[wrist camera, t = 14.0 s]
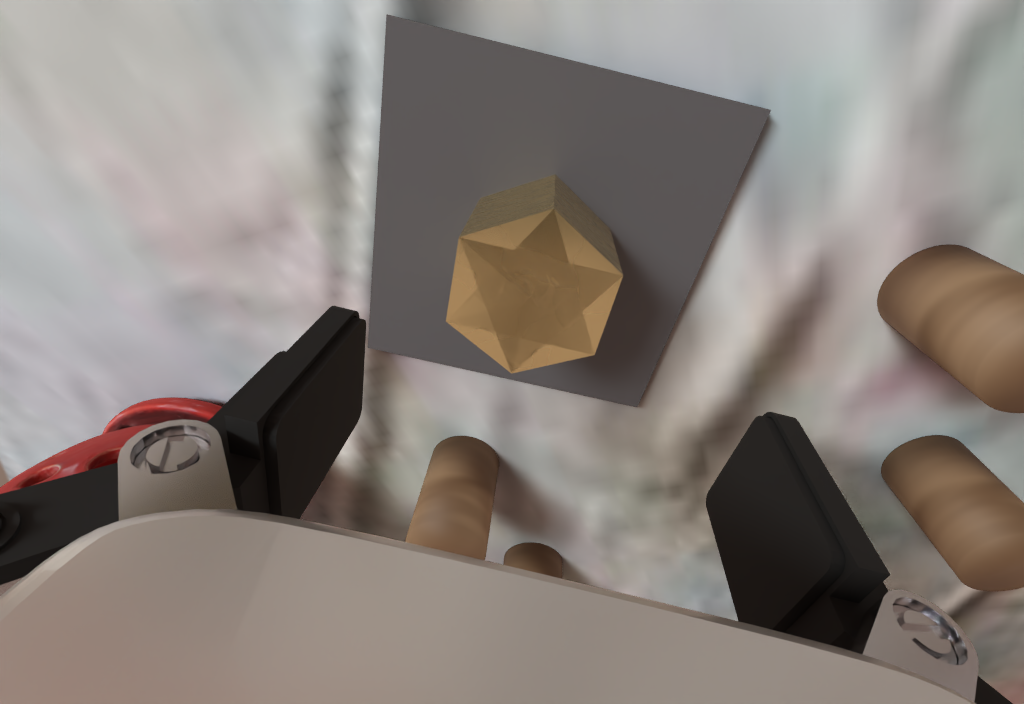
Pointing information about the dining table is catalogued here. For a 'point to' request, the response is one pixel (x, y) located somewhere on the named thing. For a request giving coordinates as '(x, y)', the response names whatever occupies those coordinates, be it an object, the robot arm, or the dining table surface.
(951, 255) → the cylinder
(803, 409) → the dining table surface
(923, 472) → the cylinder
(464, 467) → the cylinder
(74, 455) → the plant pot
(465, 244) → the tan faceted block
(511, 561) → the cylinder
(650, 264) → the mat
